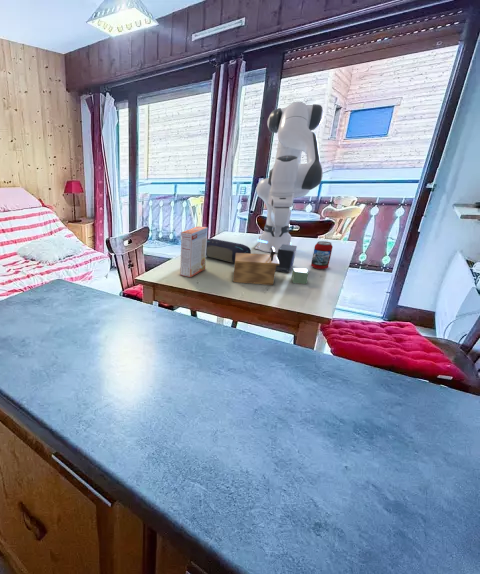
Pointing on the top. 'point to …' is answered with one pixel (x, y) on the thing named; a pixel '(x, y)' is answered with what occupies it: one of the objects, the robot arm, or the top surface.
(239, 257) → the basket lid
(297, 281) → the block
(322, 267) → the beverage can
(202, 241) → the cracker box
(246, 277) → the basket
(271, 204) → the robot arm
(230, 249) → the portable speaker
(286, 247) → the small box
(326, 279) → the top surface
